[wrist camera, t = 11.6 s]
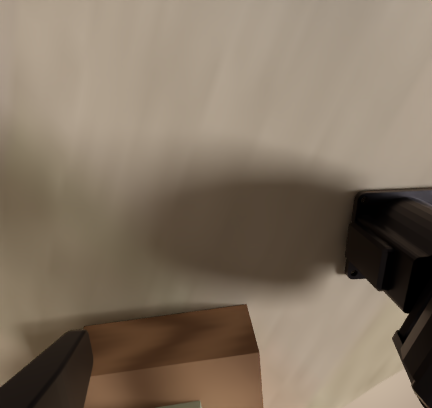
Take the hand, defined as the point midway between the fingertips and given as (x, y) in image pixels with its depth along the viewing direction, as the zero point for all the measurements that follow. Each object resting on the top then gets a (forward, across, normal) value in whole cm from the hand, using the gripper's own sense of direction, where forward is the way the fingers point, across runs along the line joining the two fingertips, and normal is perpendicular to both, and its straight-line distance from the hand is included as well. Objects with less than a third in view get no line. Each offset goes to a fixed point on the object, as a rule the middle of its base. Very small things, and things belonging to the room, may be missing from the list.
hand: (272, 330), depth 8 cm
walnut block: (+13, +4, +16) cm, 21 cm away
